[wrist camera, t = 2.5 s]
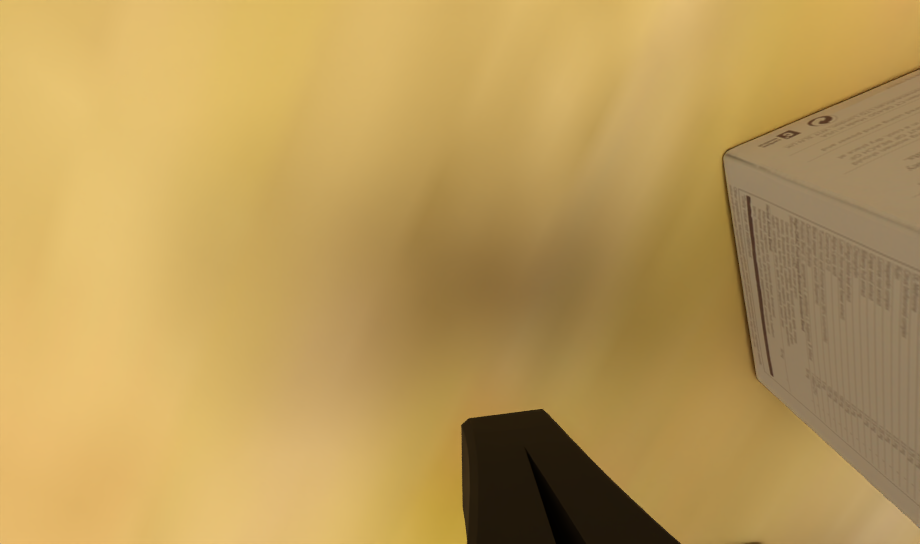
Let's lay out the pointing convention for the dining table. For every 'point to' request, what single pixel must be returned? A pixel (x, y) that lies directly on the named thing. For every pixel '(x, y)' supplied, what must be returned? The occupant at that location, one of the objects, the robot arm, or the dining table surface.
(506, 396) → the dining table surface
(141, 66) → the dining table surface
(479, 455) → the robot arm
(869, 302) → the supplement box
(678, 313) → the dining table surface
